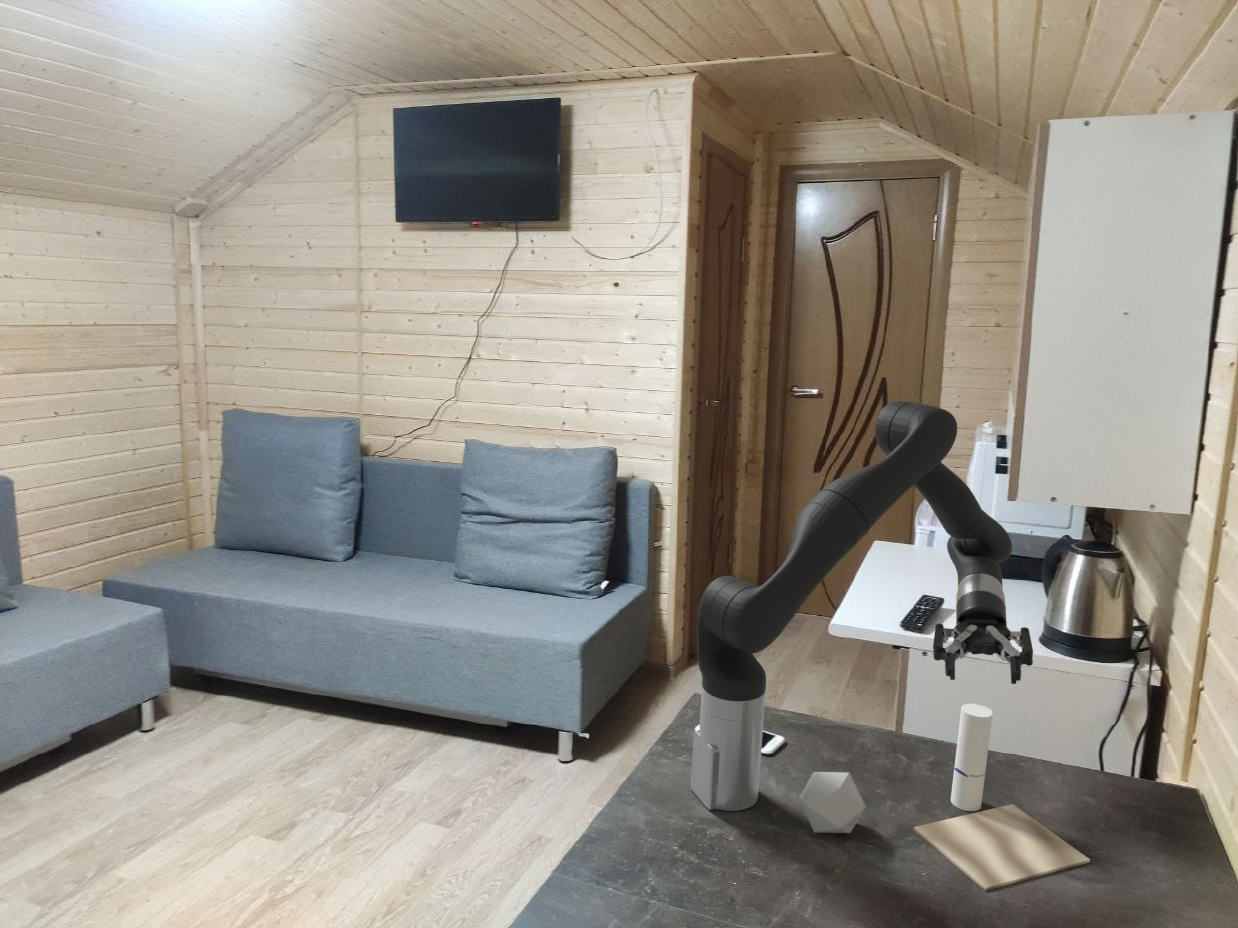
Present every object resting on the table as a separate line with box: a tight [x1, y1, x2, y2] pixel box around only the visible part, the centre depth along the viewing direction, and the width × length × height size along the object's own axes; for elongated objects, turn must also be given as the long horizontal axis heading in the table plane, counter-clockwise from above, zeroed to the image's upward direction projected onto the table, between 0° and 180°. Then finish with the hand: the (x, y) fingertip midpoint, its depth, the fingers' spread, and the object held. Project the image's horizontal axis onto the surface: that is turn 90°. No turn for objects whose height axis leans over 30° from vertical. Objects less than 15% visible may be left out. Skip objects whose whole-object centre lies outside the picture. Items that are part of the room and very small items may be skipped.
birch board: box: [913, 804, 1091, 892], centre depth 129 cm, size 18×14×1 cm
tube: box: [950, 703, 993, 812], centre depth 138 cm, size 4×4×15 cm
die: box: [798, 771, 867, 834], centre depth 131 cm, size 8×9×10 cm
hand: (983, 677), depth 139 cm, fingers open, 8 cm apart
